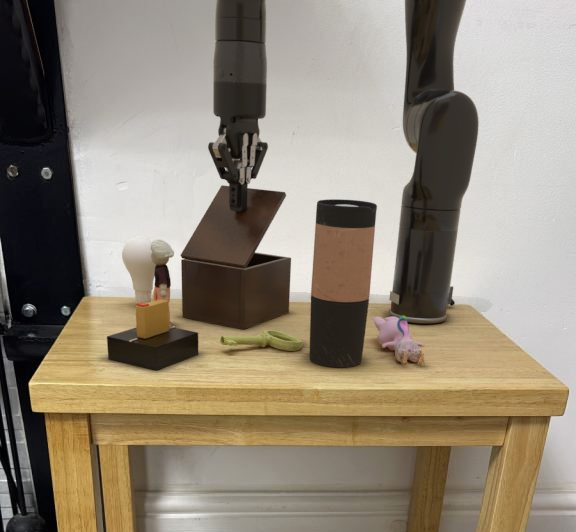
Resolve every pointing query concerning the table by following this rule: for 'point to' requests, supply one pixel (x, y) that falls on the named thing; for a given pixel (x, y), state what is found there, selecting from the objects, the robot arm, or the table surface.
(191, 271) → the box
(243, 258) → the lockbox lid
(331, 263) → the travel mug
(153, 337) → the plate
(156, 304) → the lock knob
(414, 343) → the pink toy animal
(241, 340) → the key
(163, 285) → the grandmother figurine
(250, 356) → the table surface
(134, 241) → the lightbulb
